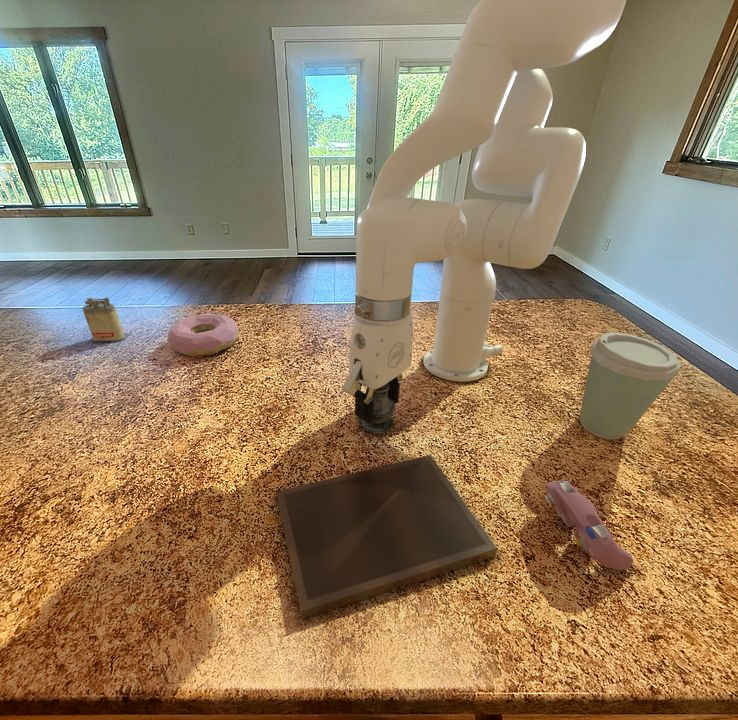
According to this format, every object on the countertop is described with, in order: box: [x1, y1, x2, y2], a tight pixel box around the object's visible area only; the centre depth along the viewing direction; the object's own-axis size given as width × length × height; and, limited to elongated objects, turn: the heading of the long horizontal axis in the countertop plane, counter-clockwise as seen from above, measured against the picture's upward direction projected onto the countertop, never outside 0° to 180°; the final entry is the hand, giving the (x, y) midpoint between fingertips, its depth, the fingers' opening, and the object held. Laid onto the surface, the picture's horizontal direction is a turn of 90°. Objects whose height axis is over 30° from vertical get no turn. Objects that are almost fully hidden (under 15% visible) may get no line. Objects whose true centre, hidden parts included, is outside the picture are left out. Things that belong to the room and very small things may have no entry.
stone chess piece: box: [359, 383, 397, 434], centre depth 59 cm, size 6×6×12 cm
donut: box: [167, 312, 239, 357], centre depth 86 cm, size 16×15×5 cm
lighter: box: [82, 297, 126, 342], centre depth 88 cm, size 7×4×10 cm, turn 91°
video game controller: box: [544, 480, 634, 571], centre depth 43 cm, size 10×5×7 cm, turn 5°
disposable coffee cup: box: [578, 331, 681, 440], centre depth 57 cm, size 11×11×15 cm
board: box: [276, 454, 498, 620], centre depth 45 cm, size 22×15×2 cm
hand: (377, 408), depth 61 cm, fingers closed on stone chess piece, 5 cm apart
